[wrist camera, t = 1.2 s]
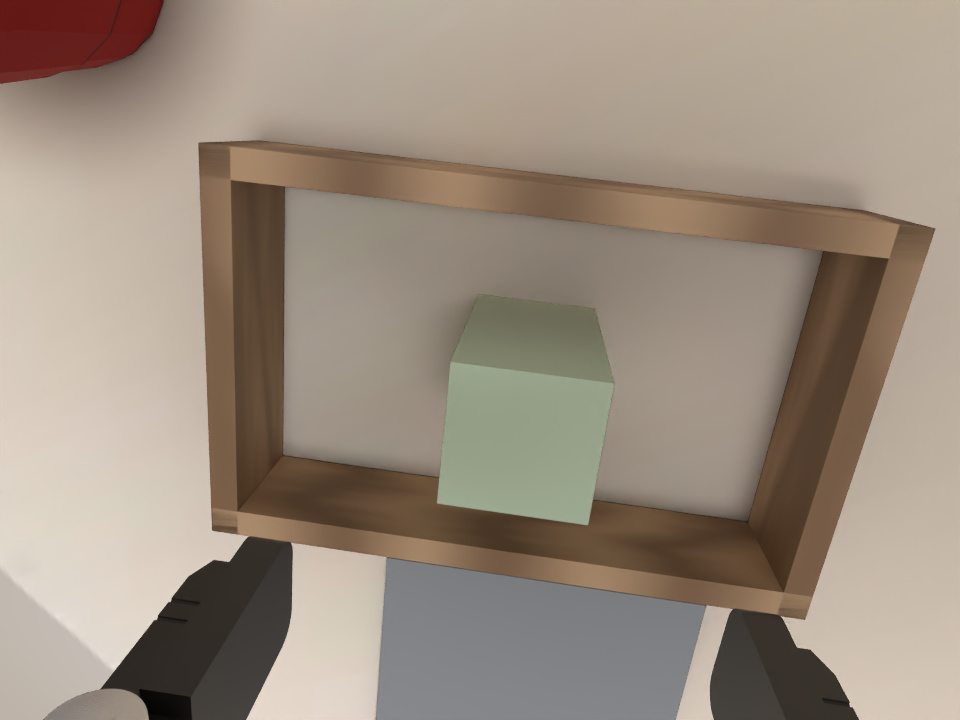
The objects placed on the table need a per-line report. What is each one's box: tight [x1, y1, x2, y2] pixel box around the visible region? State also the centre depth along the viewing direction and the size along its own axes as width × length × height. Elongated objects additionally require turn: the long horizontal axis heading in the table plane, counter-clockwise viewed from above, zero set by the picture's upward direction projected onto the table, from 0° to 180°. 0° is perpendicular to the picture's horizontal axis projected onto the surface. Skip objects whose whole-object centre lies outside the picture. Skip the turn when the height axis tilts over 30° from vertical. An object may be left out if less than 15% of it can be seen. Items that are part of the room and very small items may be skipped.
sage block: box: [437, 294, 614, 525], centre depth 23 cm, size 4×4×8 cm
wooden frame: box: [198, 141, 935, 620], centre depth 24 cm, size 22×14×4 cm, turn 84°
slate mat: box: [376, 557, 706, 720], centre depth 32 cm, size 14×14×1 cm
